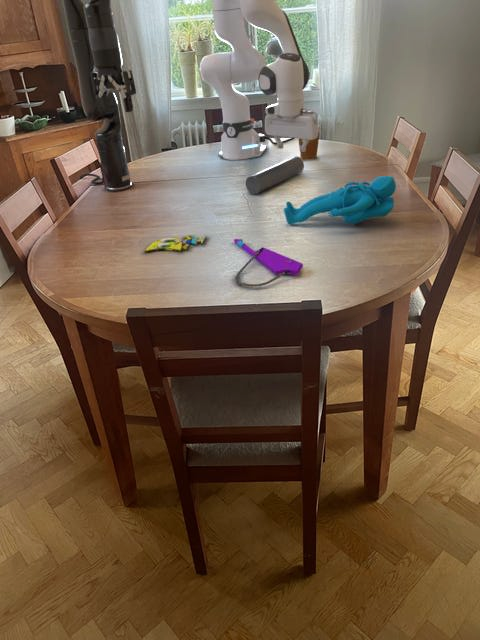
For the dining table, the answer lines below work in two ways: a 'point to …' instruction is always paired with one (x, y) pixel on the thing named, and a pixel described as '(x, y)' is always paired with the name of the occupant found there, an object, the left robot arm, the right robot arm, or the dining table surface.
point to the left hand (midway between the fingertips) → (118, 111)
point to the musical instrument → (269, 262)
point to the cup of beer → (310, 147)
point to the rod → (274, 175)
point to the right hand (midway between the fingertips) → (291, 149)
